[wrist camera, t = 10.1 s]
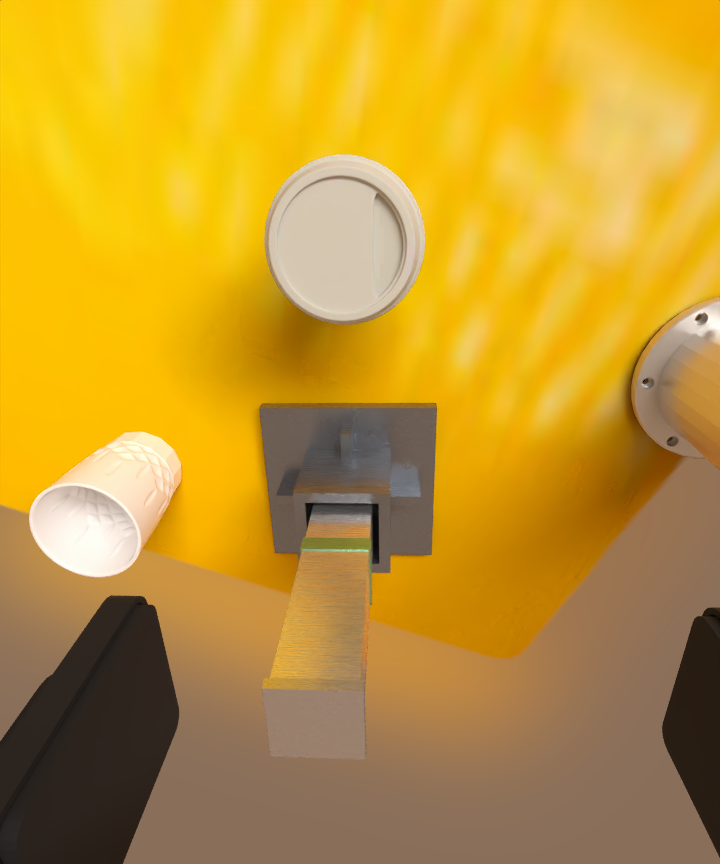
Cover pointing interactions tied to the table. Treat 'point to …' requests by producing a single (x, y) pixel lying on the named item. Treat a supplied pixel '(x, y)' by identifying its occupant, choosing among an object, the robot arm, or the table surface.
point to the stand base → (353, 470)
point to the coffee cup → (344, 239)
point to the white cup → (107, 505)
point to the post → (324, 641)
